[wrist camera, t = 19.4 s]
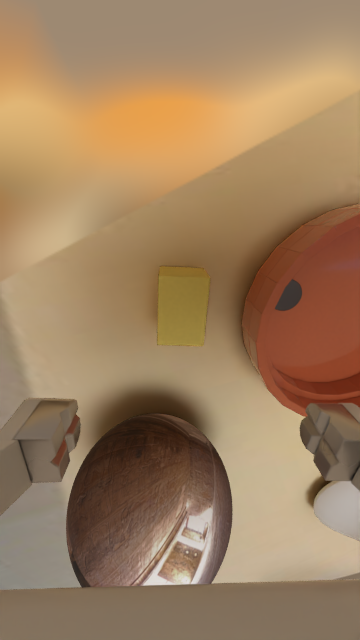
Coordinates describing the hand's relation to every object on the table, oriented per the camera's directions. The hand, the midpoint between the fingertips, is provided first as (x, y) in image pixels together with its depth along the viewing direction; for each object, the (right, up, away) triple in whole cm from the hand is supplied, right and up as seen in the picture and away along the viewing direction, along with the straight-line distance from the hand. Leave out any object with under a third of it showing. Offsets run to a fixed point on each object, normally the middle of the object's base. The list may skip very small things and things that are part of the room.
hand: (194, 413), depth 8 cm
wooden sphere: (-3, -11, +21) cm, 24 cm away
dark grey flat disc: (+9, +6, +14) cm, 17 cm away
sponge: (0, +5, +14) cm, 15 cm away
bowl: (+15, +4, +16) cm, 22 cm away
